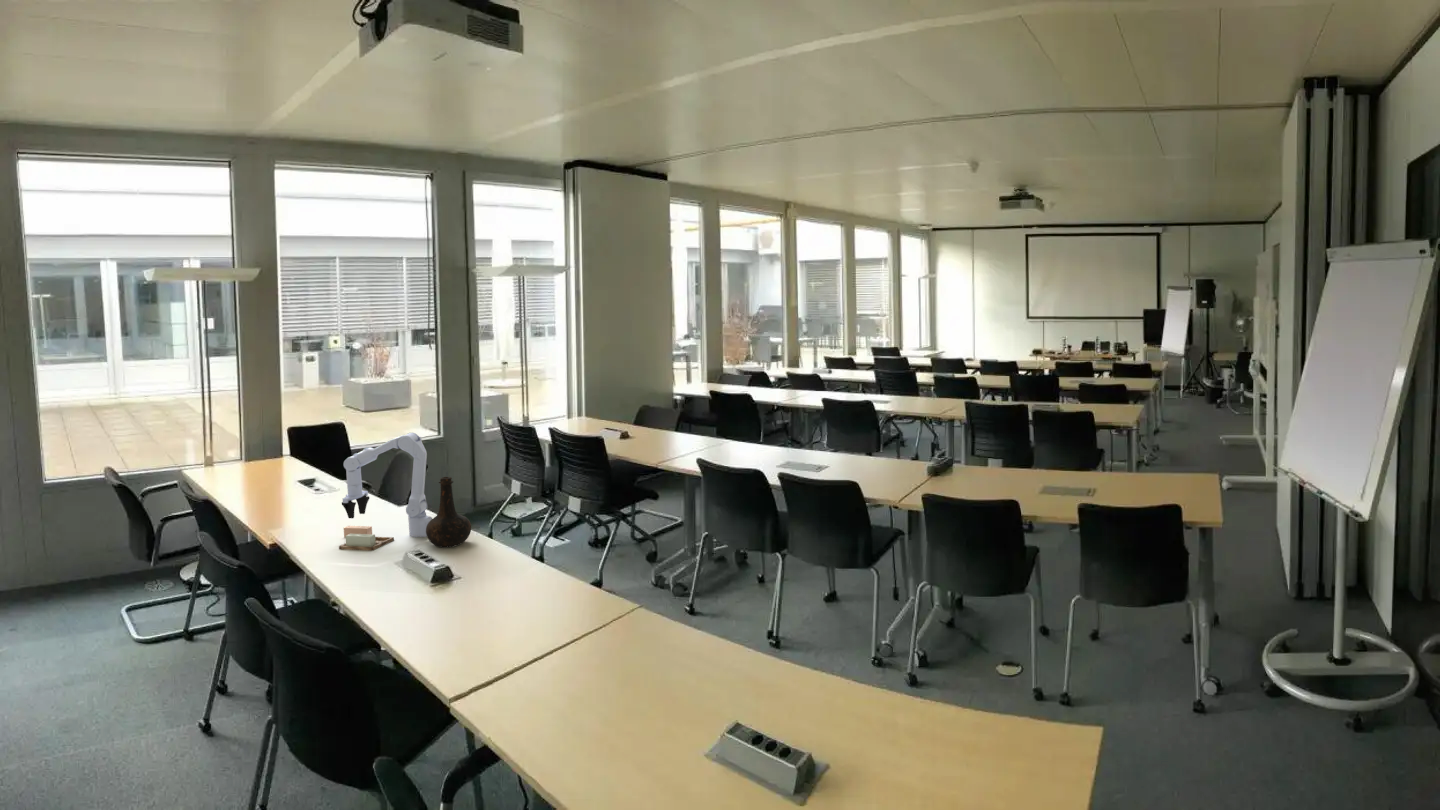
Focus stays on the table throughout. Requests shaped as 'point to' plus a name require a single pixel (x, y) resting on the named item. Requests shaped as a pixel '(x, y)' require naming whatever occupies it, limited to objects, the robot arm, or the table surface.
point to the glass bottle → (447, 520)
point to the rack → (379, 542)
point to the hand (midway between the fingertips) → (356, 515)
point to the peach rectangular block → (357, 530)
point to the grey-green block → (360, 540)
